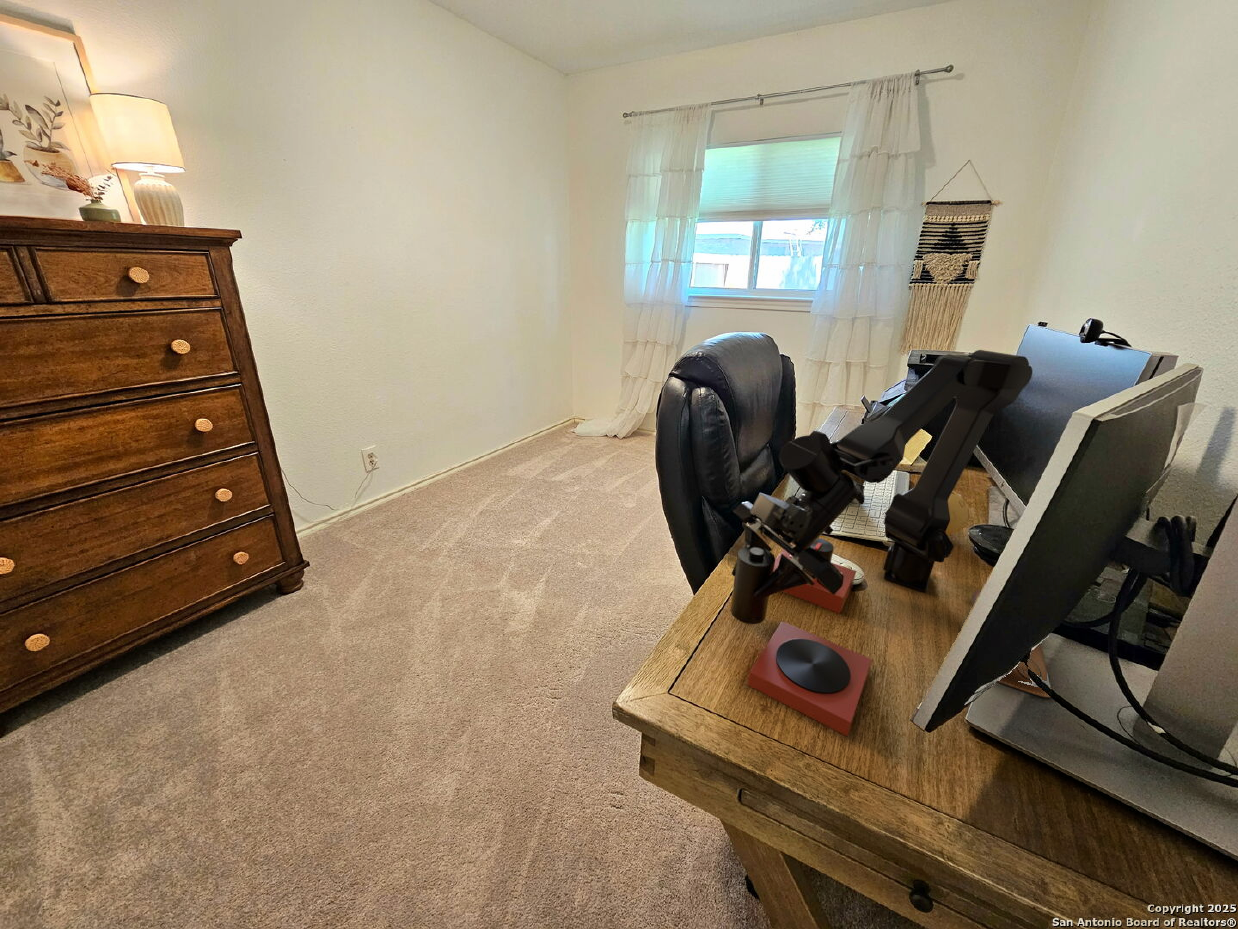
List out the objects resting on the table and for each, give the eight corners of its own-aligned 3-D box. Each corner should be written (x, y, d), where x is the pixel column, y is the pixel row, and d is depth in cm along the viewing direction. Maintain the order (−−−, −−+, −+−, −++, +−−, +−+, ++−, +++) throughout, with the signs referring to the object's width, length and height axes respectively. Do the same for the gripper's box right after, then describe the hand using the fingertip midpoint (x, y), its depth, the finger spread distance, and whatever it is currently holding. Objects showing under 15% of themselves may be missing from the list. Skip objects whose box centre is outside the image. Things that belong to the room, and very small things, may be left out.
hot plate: (868, 671, 64) (872, 657, 63) (847, 736, 55) (851, 720, 54) (779, 633, 71) (782, 619, 70) (747, 685, 62) (750, 670, 61)
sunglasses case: (1060, 701, 60) (1041, 654, 59) (991, 700, 64) (973, 656, 63) (1035, 619, 74) (1020, 580, 73) (980, 623, 78) (966, 586, 78)
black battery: (773, 616, 72) (784, 554, 67) (748, 629, 69) (758, 565, 65) (747, 597, 76) (755, 538, 71) (723, 608, 73) (730, 547, 69)
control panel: (855, 580, 83) (859, 565, 82) (839, 613, 75) (843, 597, 74) (786, 556, 89) (788, 542, 88) (764, 584, 81) (767, 568, 80)
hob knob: (806, 554, 85) (810, 533, 83) (832, 563, 82) (837, 541, 81) (798, 566, 81) (802, 544, 80) (825, 575, 79) (830, 553, 77)
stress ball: (893, 525, 102) (905, 482, 98) (928, 518, 105) (940, 476, 101) (936, 549, 93) (951, 503, 89) (972, 541, 96) (988, 496, 92)
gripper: (750, 452, 73) (681, 528, 74) (844, 506, 57) (754, 602, 58) (785, 492, 79) (720, 561, 80) (878, 550, 63) (797, 637, 63)
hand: (744, 586), depth 70 cm, fingers closed on black battery, 5 cm apart
